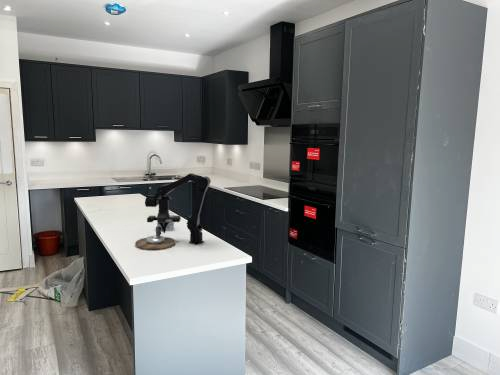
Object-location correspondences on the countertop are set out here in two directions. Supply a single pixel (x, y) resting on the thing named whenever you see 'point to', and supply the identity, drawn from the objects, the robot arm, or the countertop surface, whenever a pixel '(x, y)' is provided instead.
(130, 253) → the countertop surface
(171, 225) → the light bulb box
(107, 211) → the countertop surface
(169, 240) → the dial base plate
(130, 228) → the countertop surface
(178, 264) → the countertop surface
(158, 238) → the dial
